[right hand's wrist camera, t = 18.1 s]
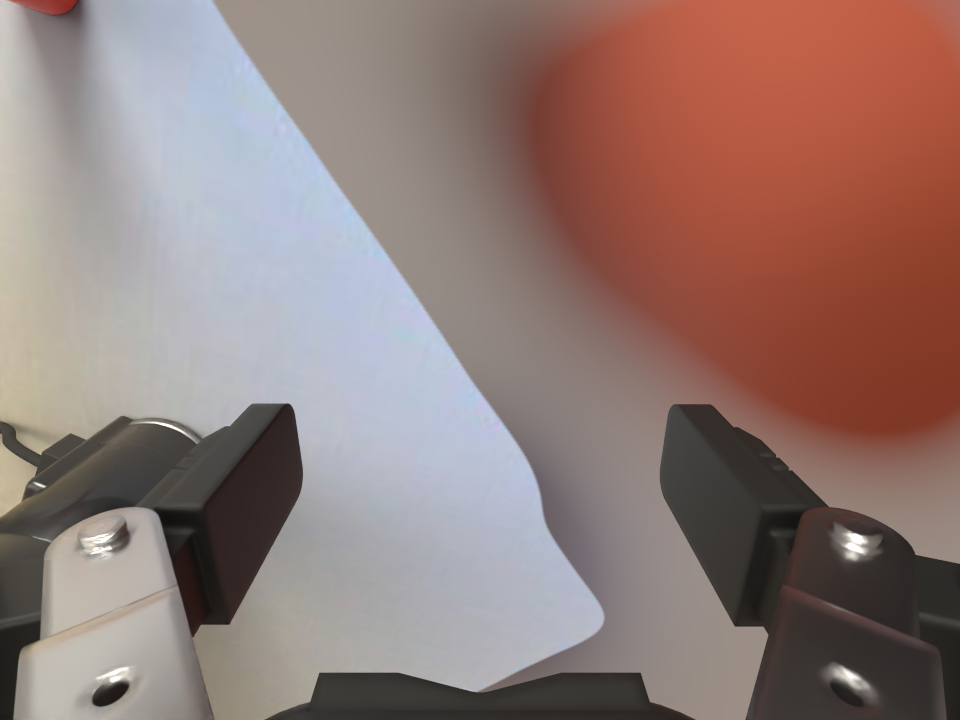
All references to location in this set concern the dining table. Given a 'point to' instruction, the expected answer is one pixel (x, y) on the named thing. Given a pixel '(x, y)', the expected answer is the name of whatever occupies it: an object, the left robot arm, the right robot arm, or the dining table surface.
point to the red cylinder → (48, 5)
